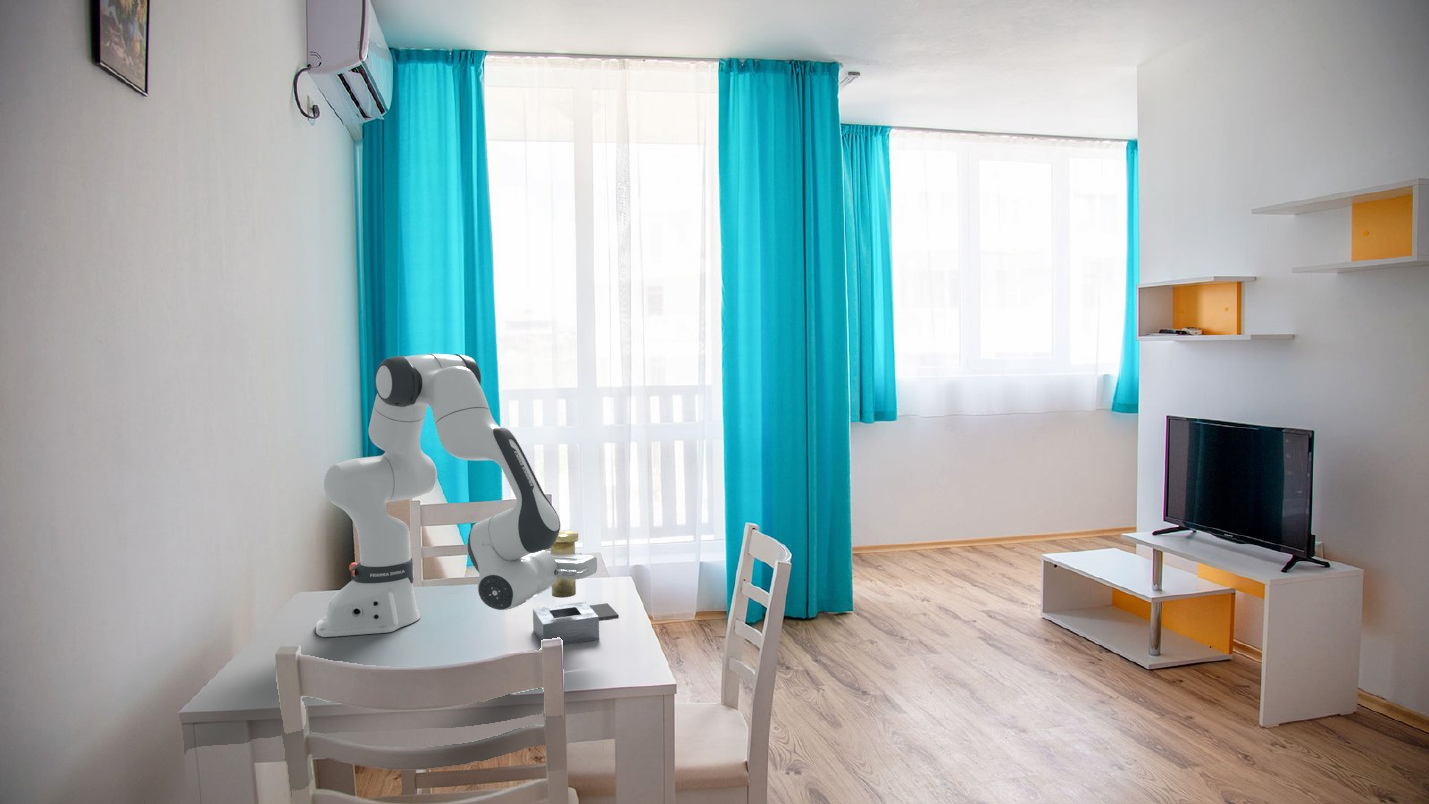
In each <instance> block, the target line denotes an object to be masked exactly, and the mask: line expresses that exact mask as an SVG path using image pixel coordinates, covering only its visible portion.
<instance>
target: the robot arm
mask: <svg viewBox="0 0 1429 804" xmlns="http://www.w3.org/2000/svg"><path fill="white" fill-rule="evenodd" d="M374 377H375V378H374V381H375V383H374V385H375V390H376V395H375V398H374V399H375V400H374V403H373V408H372V412H371V417H370V421H369V424H368V425H369V426H368V428H367V429H368V432H367V433H368V436H369V439H370V441H371V442H372V444H374V445H375V446H376V447H377V448H378V449H381V450H382V451H384V453H383V454H380V455H377V456H366V457H359V458H358V457H357V458H352V459H347V460H344V461H341V462H338V463H334V464H333V465H331V466H330V467H329V468H328V470H327V471H326V474H325V476H324V480H323V489H324V492H325V495H326V497H327V499H328V500H329V501H330V502H331V503H332V504H333V505H334V506H336V507H338V508H340V509H341V510H343V511H344V512H345V513H346V514H347V515H348V517H349V518H350V519H351V520H352V522H353V524H354V526H355V529H356V531H357V532H356V533H357V538H358V546H359V547H358V548H359V561H360V562H359V563H357V562H356V561H355V562H351V563H350V564H349V568H348V570H349V571H350V576H351V577H350V578H351V581H349V582H348V583H346V584H345V586H344V587H341V589H340V590H338V591H337V592H336V593H335V594H333V596H332V597H331V598H330V600H329V601H328V603H327V606H326V610H325V616H324V617H322V618H320V619H319V620H318V621H317V622H316V624H315V632H316V635H318V636H319V637H321V638H332V637H345V636H357V635H368V634H369V635H370V634H371V635H372V634H383V633H392V632H395V631H396V630H398V629H400V628H402V627H405V626H409V625H411V624H414V623H415V622H417V621H418V620H419V619H420V618H421V614H420V611H419V608H418V604H417V600H416V596H415V590H414V584H413V583H414V579H415V567H414V561H413V558H412V555H411V554H412V553H411V533H410V531H411V530H410V529H409V526H408V524H407V523H406V522H405V521H403V520H401V519H400V518H397V517H395V516H392V515H389V513H388V511H387V507H386V506H387V503H392V502H399V501H404V500H405V501H406V500H412V499H415V498H417V497H418V498H419V497H421V496H423V495H426V494H429V493H430V492H432V490H433V489H434V488H435V486H436V483H437V480H438V471H437V467H436V464H435V462H434V461H433V459H432V458H431V457H430V456H429V455H427V454H426V453H424V452H423V450H422V448H421V436H422V430H423V427H424V421H425V417H426V413H427V409H428V407H431V413H432V417H433V421H434V424H435V428H436V431H437V436H438V439H439V441H440V444H441V446H442V448H443V449H444V450H445V451H446V452H447V453H448V454H449V455H451V456H453V457H454V458H456V459H460V460H463V461H465V460H466V461H493V462H495V463H496V464H498V465H499V467H500V468H501V469H502V471H503V473H504V476H505V478H506V480H507V482H508V483H509V485H510V488H511V490H512V493H513V495H514V497H515V499H516V503H515V505H514V506H513V507H511V508H509V509H506V510H504V511H502V512H499V513H497V514H494V515H492V516H489V517H486V518H485V519H482V520H480V521H478V522H476V523H475V524H473V525H472V527H471V529H470V530H469V532H468V533H469V534H468V537H467V553H468V556H469V560H470V562H471V563H472V566H473V567H474V568H475V570H476V571H477V572H478V574H479V577H478V583H477V592H478V595H479V599H481V601H482V602H483V604H485V605H486V606H488V607H489V608H491V609H494V610H497V611H507V610H511V609H515V608H517V607H519V606H521V605H523V604H525V603H527V602H528V601H530V600H531V599H532V598H533V597H536V596H538V595H540V594H542V593H544V592H545V591H547V590H549V589H550V588H552V586H553V584H554V583H555V581H556V579H557V578H560V579H576V580H582V579H585V578H587V577H589V576H592V575H594V574H596V573H597V572H598V559H597V556H595V555H593V554H582V552H575V553H573V554H563V553H551V550H550V549H551V547H552V546H553V545H554V543H555V541H556V539H557V537H558V534H559V532H561V531H560V530H561V521H560V520H561V519H560V518H559V517H560V516H559V515H558V513H557V511H556V509H555V508H554V506H553V505H552V503H551V502H550V501H549V499H548V497H547V496H546V494H545V493H544V490H543V489H542V487H541V485H540V483H539V481H538V478H537V476H536V475H535V473H534V471H533V468H532V467H531V465H530V463H529V461H528V459H527V457H526V455H525V452H524V451H523V449H522V447H521V445H520V443H519V442H518V440H517V439H516V437H515V435H514V434H513V432H511V431H510V430H509V428H506V427H503V426H500V425H498V424H497V422H496V420H495V419H494V418H493V416H492V412H491V410H490V406H489V404H488V403H489V402H488V401H487V398H486V396H485V393H484V390H483V388H482V386H481V383H482V373H481V370H480V367H479V365H478V364H477V362H476V361H475V359H474V358H472V357H470V356H468V355H463V354H458V353H456V354H455V353H454V354H445V353H426V354H415V355H407V356H402V355H397V356H392V357H388V358H385V359H383V360H382V361H380V364H379V365H378V367H377V369H376V372H375V376H374ZM548 549H549V550H548Z"/></svg>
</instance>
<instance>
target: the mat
mask: <svg viewBox="0 0 1429 804" xmlns="http://www.w3.org/2000/svg"><path fill="white" fill-rule="evenodd" d="M589 606H590V607H591V609H592V610H593V611H594V612H595V613H596V614H597V615H598V616H599V621H601V620H608V619H616V618H619V616H620V615H619V614H618V612H616V610H615V609H613V607H612V606H610V604H609V603H605V602H604V603H599V604H598V603H597V604H591V605H589Z"/></svg>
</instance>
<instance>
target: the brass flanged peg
mask: <svg viewBox="0 0 1429 804" xmlns="http://www.w3.org/2000/svg"><path fill="white" fill-rule="evenodd" d="M578 541H579V533H578V532H576V531H567V530H566V531H559V534H558V537H557V539H556V541H555V543H554V545H553V546H552V547H551V548H550V551H551V553H563V554H573V553H576V542H578ZM576 580H577V579H560V578H557V579H556V581H555V583H554V584H553V586H551V596H552V597H553V598H559V599H561V598H571V597H574V596H575V595H576V594H577V585H576V582H577V581H576Z"/></svg>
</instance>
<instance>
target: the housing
mask: <svg viewBox="0 0 1429 804" xmlns="http://www.w3.org/2000/svg"><path fill="white" fill-rule="evenodd" d="M599 623H600V620H599V616H598V615H597V614H596V613H595V612H594V611H593V610H592V609H591V607H590V605H589V604H588V603H587V601H581V602H574V603H573V602H572V603H565V604H557V605H549V606H543V607H541V606H540V607H534V608H532V625H533V632H534V634H535V635H536V637H537V639H538V641H539V642H540V643H541V640H543V639H552V638H557V637H560V638H561V639H562V640H563V644H564V645H568V644H569V645H570V644H578V643H584V642H589V641H596V640H597V641H598V640H600V624H599Z"/></svg>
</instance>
